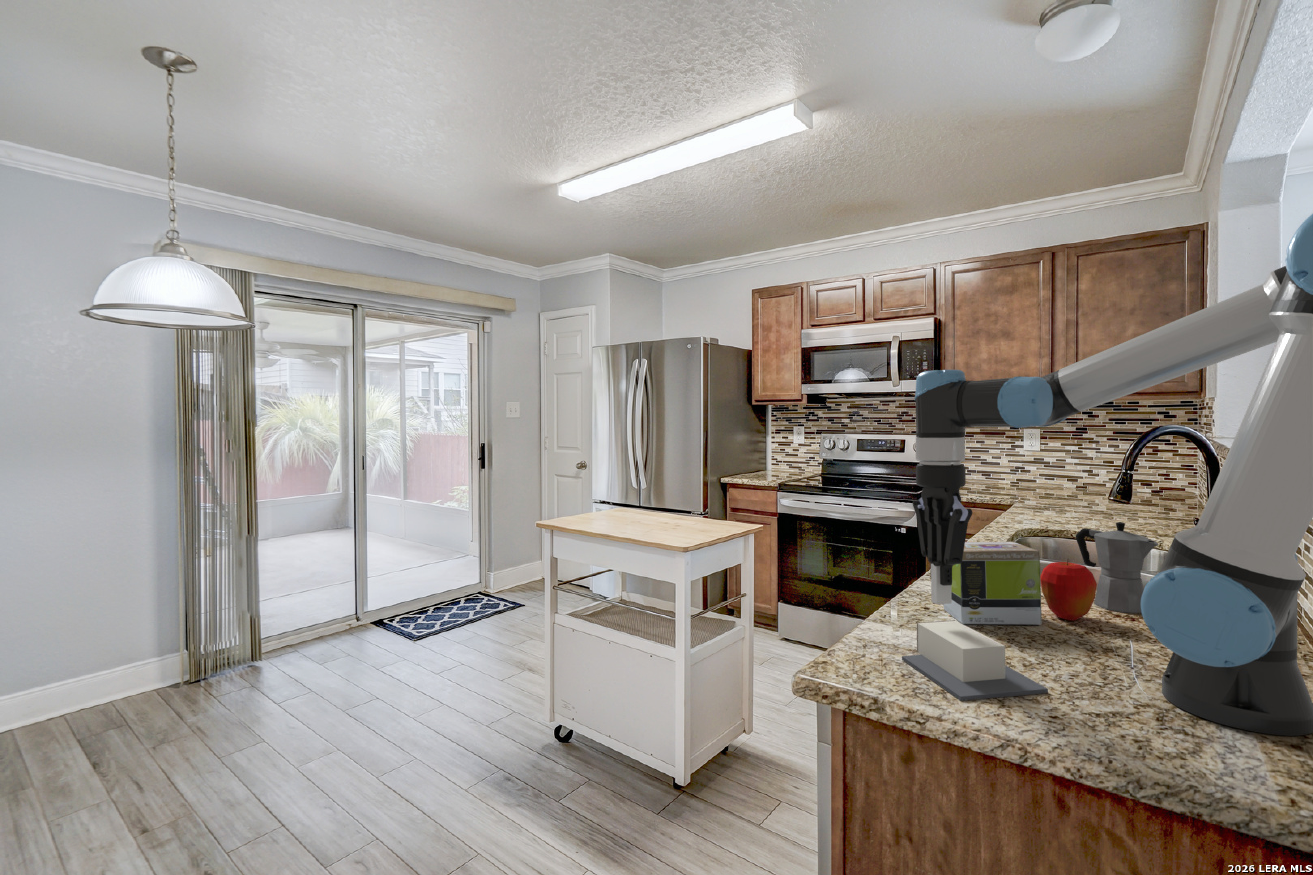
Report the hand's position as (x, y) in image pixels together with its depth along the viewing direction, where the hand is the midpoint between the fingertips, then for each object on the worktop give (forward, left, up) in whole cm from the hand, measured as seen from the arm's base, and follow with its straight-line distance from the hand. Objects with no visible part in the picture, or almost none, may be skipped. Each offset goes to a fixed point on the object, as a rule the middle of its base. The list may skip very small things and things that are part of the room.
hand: (941, 602), depth 100 cm
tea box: (+17, -22, -10) cm, 29 cm away
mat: (-7, 0, -9) cm, 12 cm away
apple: (+14, -37, -10) cm, 40 cm away
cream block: (+1, 0, -6) cm, 6 cm away
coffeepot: (+19, -53, -10) cm, 57 cm away
